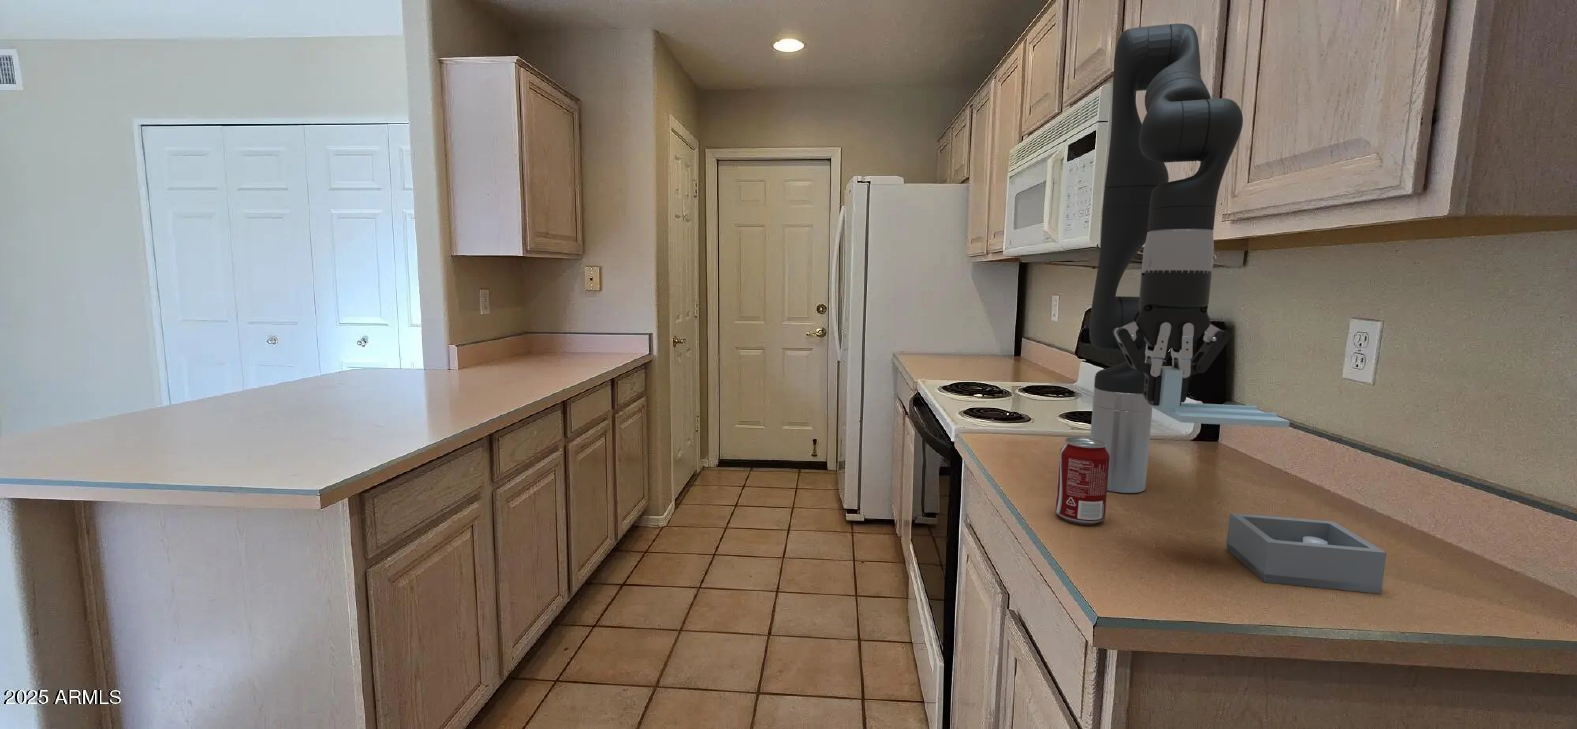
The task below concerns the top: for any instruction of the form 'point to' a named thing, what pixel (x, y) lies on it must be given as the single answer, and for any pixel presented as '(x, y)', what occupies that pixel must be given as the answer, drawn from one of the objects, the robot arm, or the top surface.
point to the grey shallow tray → (1305, 553)
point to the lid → (1208, 407)
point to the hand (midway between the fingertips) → (1163, 404)
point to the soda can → (1082, 480)
